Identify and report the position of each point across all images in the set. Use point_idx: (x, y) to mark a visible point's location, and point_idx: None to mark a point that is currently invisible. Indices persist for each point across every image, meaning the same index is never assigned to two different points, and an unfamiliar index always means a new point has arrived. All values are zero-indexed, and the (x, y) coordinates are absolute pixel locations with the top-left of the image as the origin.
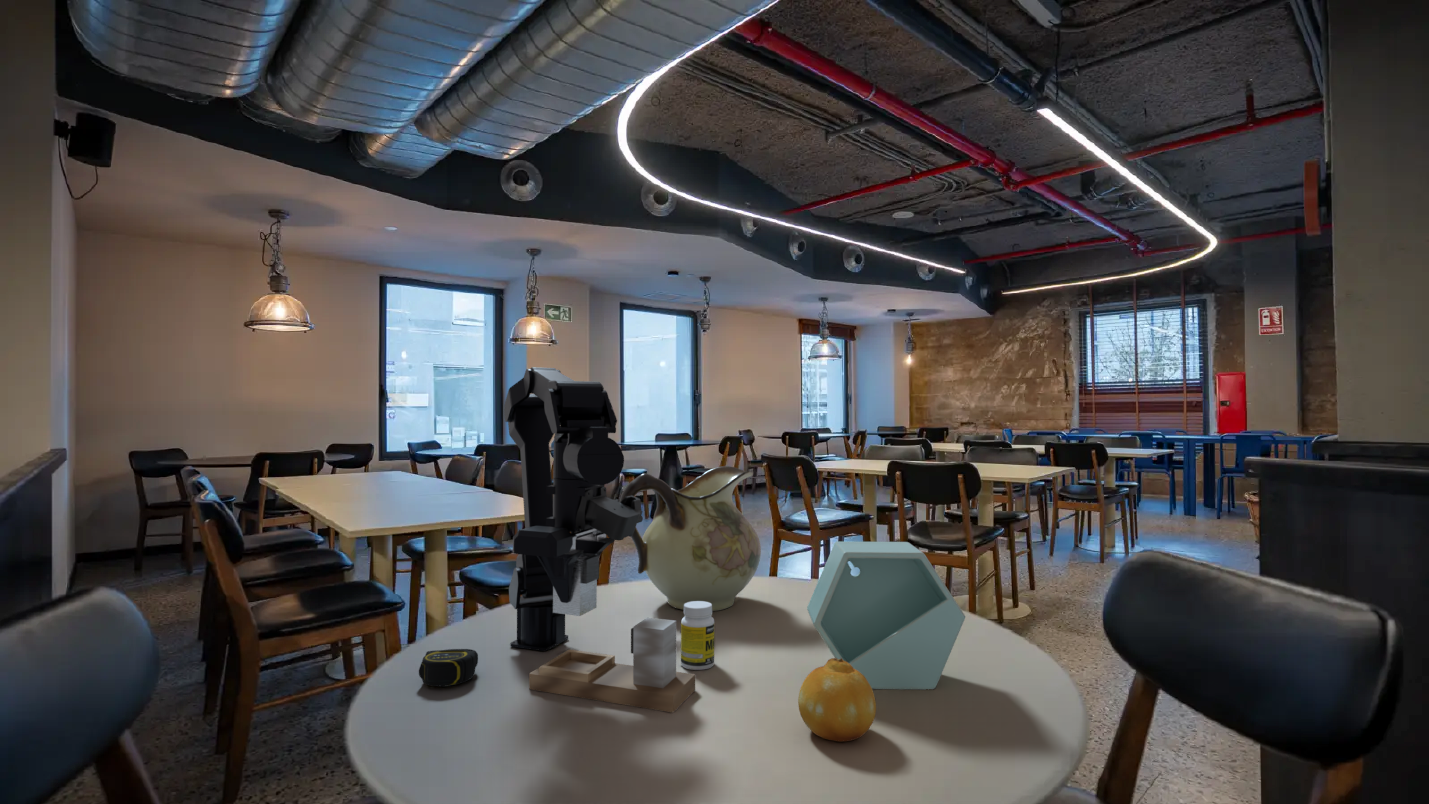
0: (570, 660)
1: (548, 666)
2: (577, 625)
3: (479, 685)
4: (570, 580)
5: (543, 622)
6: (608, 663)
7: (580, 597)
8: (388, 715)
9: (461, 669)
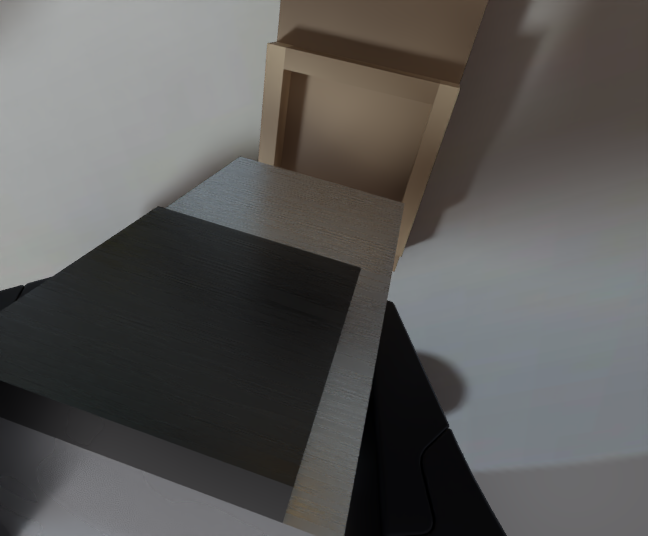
0: None
1: None
2: (24, 249)
3: None
4: (412, 400)
5: None
6: (316, 53)
7: (391, 252)
8: (529, 438)
9: None
